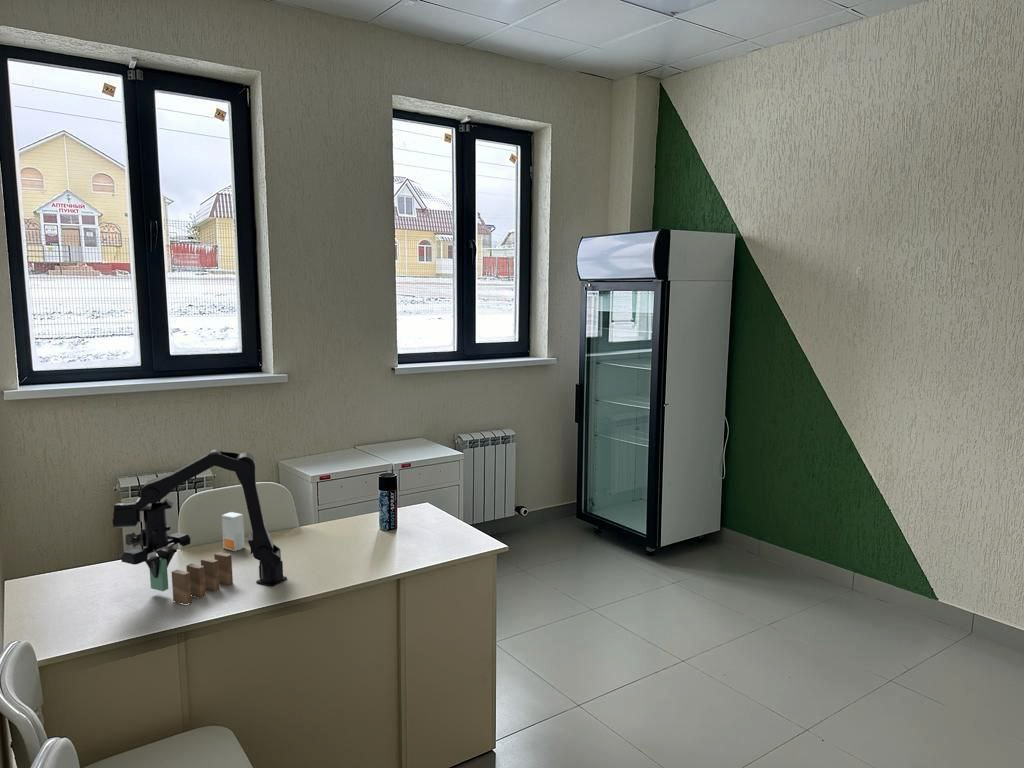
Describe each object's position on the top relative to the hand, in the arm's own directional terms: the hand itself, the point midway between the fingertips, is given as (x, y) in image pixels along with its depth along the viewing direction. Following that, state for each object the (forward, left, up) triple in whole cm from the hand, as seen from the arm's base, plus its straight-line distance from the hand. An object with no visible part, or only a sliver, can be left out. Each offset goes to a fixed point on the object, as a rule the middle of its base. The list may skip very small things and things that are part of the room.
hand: (159, 576), depth 202 cm
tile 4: (-10, -4, -6) cm, 12 cm away
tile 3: (-10, -9, -6) cm, 15 cm away
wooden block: (-10, -14, -6) cm, 18 cm away
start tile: (0, 0, -4) cm, 4 cm away
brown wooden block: (-10, +1, -6) cm, 12 cm away
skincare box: (+10, -37, -6) cm, 39 cm away
